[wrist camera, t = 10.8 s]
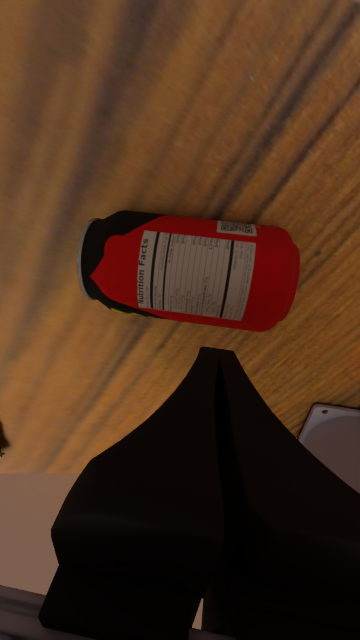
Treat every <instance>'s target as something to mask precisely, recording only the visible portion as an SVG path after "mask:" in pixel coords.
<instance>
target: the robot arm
mask: <svg viewBox="0 0 360 640" xmlns="http://www.w3.org/2000/svg"><path fill="white" fill-rule="evenodd" d="M323 410H324V411H323ZM51 538H52V542H53V545H54V549H55V553H56V556H57V559H58V563H59V566H58V569H57V571H56V574H55V576H54V579H53V581H52V583H51V585H50V588H49V590H48V593H47V595H42V594H38V593H33V592H29V591H24V590H19V589H15V588H11V587H6V586H2V585H0V640H360V410H356V409H350V408H343V407H336V406H330V405H323V404H315V405H314V406H313V407H312V409H311V411H310V413H309V416H308V418H307V420H306V422H305V425H304V427H303V429H302V431H301V434H300V436H299V438H298V440H297V439H296V438H295V437H294V436H293V435H292V433H291V432H290V431H289V430H288V429H287V428H286V427H285V426H284V425H283V424H282V423H281V421H280V420H279V419H278V418H277V417H276V416H275V415H274V413H273V412H272V411H271V410H270V408H269V407H268V406H267V404H266V403H265V402H264V400H263V399H262V398H261V396H260V395H259V393H258V392H257V390H256V389H255V387H254V386H253V384H252V383H251V381H250V380H249V378H248V376H247V375H246V373H245V371H244V369H243V368H242V366H241V364H240V362H239V360H238V358H237V356H236V354H235V353H234V352H233V351H230V350H224V349H217V348H210V347H204V346H203V347H201V348H200V350H199V354H198V356H197V358H196V360H195V362H194V364H193V366H192V367H191V369H190V371H189V372H188V374H187V375H186V377H185V378H184V379H183V381H182V382H181V383H180V385H179V386H178V387H177V389H176V390H175V391H174V392H173V394H172V395H171V396H170V397H169V398H168V399H167V400H166V401H165V402H164V403H163V405H162V406H161V407H159V408H158V409H157V410H156V411H155V412H154V413H153V414H152V415H151V416H150V417H149V418H148V419H147V420H146V421H144V422H143V423H142V424H141V425H139V426H138V427H137V428H136V429H134V430H133V431H132V432H131V433H129V434H128V435H127V436H125V437H124V438H123V439H121V440H120V441H119V442H117V443H116V444H114V445H113V446H111V447H110V448H108V449H106V450H105V451H103V452H102V453H100V454H99V455H97V456H96V457H94V458H93V459H91V460H90V461H89V463H88V464H87V465H86V467H85V468H84V470H83V471H82V473H81V474H80V475H79V477H78V479H77V480H76V482H75V483H74V485H73V486H72V488H71V490H70V491H69V493H68V495H67V497H66V499H65V501H64V503H63V505H62V507H61V509H60V511H59V513H58V515H57V517H56V520H55V522H54V524H53V526H52V528H51ZM201 598H203V614H202V626H201V630H199V629H195V628H192V624H193V622H194V619H195V616H196V613H197V610H198V607H199V604H200V601H201Z"/></svg>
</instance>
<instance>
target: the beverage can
mask: <svg viewBox="0 0 360 640" xmlns="http://www.w3.org/2000/svg"><path fill="white" fill-rule="evenodd" d="M77 274H78V280H79V284H80V287H81V289H82V292H83V293H84V295H85V296H86V297H87V298H88V299H91V300H99V301H100V302H101V303H103V304H104V305H105V306H106V307H108V308H109V309H110V310H112V311H114V312H117V313H124V314H131V315H138V316H146V317H153V318H160V319H168V320H175V321H182V322H190V323H197V324H204V325H212V326H219V327H226V328H234V329H241V330H248V331H256V332H264V331H267V330H269V329H271V328H272V327H274V326H275V325H276V324H277V323H278V322H279V321H282V320H283V319H284V318H285V317H286V316H287V314H288V313H289V311H290V309H291V307H292V304H293V301H294V298H295V295H296V292H297V287H298V282H299V276H300V253H299V249H298V247H297V246H296V245H295V244H294V243H293V241H292V238H291V237H290V235H289V234H288V233H287V232H286V231H285V230H284V229H282V228H280V227H274V226H264V225H255V224H246V223H237V222H227V221H218V220H209V219H200V218H191V217H181V216H172V215H163V214H154V213H144V212H135V211H126V210H124V211H119V212H116V213H114V214H113V215H111V216H109V217H107V218H105V219H100V218H93V219H91V220H89V221H88V223H87V224H86V225H85V227H84V229H83V231H82V234H81V237H80V240H79V245H78V251H77Z"/></svg>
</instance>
